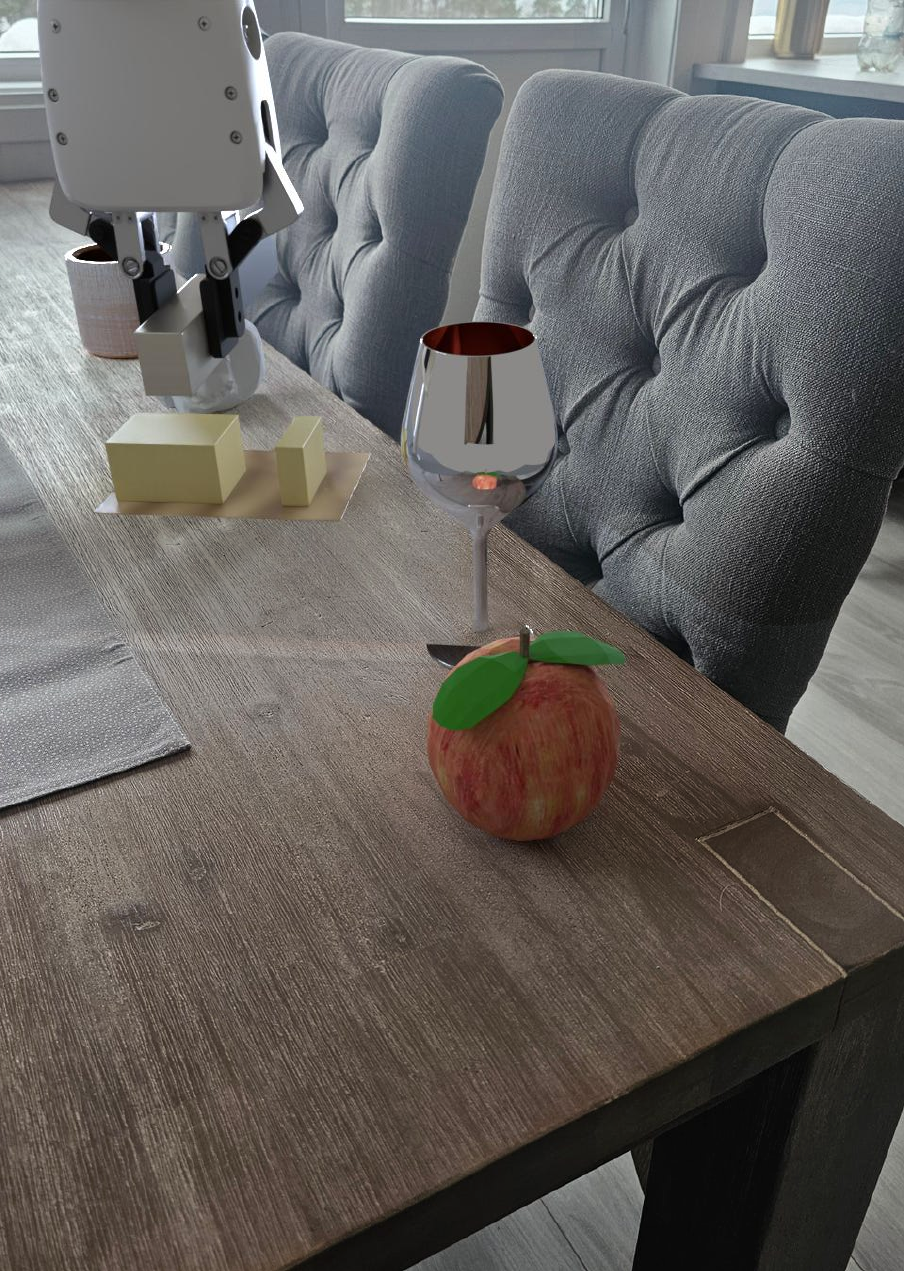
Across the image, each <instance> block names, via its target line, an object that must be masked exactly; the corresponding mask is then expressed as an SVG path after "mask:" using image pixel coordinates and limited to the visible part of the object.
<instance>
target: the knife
mask: <svg viewBox="0 0 904 1271" xmlns="http://www.w3.org/2000/svg"><path fill="white" fill-rule="evenodd" d="M277 254H278V253H277V246H276V237H275V233H274V234H272V235H270V236H269V237H266V238H264V239H262V240H261V241H260V242H259V243H258V244H257V246H256V247H255V248H254V249H253V251H252V252H251V253H250V254H249V255H248V257H247V258H246V259H245V260H244V262H243V263H242V264H241V265H240V266H239V268H238V271H239V279H240V286H241V294H242V302H243V310H244V313H245V312H246V311H247V309H248V308H249V307H250V306H251V305H252V303H253V302H254V301H255V300H256V299H257V297H258V296H259V295H260V294H261V293H262V292H263V290H264V289H265V288H266V287H267V286H268V285H269V283H270V282H271V281H272V280H273V279H274V277H275V276H276V275H277V274H278V273H279V264H278V255H277ZM205 277H206V273H196V274H194V276H193V277H191V278H190V279H189V280H188V281H187V282H186V283H185V284H184V285H183V286H182V287H181V288H179V291H178V292H177V293H176V294H175V295H174V296H173V297H172V298H171V299H169V300H168V301H167V302H166V303H165V304H164V305H163V306H162V307H161V308H160V309H159V310H157V311H156V312H155V313H154V314H153V315H152V316H151V317H150V318H149V319H148V320H147V321H146V322H145V323H143V324H142V325H141V326H140V327H139V328H138V329H137V330H136V331H135V332H134V338H135V343H136V348H137V353H138V357H137V358H138V364H139V367H140V368H139V369H140V372H141V373H140V374H141V378H142V383H143V388H144V393H145V396H147V397H156V396H189V397H191V396H193V395H194V394H195V392H196V391H197V390H198V389H199V387H200V386H201V385H202V384H203V382H204V381H205V380H206V379H207V377H208V376H209V375H210V374H211V372H212V371H213V370H214V369H215V367H216V366H217V365H218V364H219V363H220V361H221V360H222V359H223V358H213V356H211V354H210V350H209V343H208V336H207V330H206V323H205V316H204V311H203V310H202V303H201V296H200V289H199V283H200V281H201V280H203V279H204V278H205ZM244 332H245V331H244Z"/></svg>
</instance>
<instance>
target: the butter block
mask: <svg viewBox="0 0 904 1271" xmlns="http://www.w3.org/2000/svg"><path fill="white" fill-rule="evenodd" d="M104 447H105V452H106V456H107V461H108V467H109V472H110V475H111V480H112V485H113V490H115V495H116V499H117V501H142V502H175V503H208V504H223V503H224V502H225V500H226V499H227V497H228V496H229V494H230V493H231V491H232V490H233V489H234V487H235V486H236V484H237V483H238V481H239V480H240V478H241V477H242V475H243V474H244V473H245V471H246V466H245V458H244V451H243V450H244V445H243V437H242V431H241V424H240V416H239V414H232V413H231V414H230V413H229V414H228V413H211V414H186V413H179V412H136V411H135V412H134V413H133V414H132V415H131V416H130V417H129V418H128V419H127V420H126V421H125V422H124V423H123V424H122V425H121V426H120V427H119V428H118V429H117V430H116V431H115V432H114V433H113V434H112V435H111V436H109V438H108V439H107V440H106V441H105V442H104Z"/></svg>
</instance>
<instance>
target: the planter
mask: <svg viewBox="0 0 904 1271" xmlns="http://www.w3.org/2000/svg"><path fill="white" fill-rule="evenodd" d="M160 250H161V256H162V257H163V259H164V265H170V267H171V269H173V271H174V275H175V281H176V287H177V292H178V291H179V290H180V286H179V285H180V284H179V280H178V275H177V274H178V273H177V268H176V263H175V256H174V249H173V247H172V245H170V244H168V243H166V242H162V241H160ZM64 262H65V267H66V272H67V277H68V281H69V286H70V291H71V296H72V301H73V306H74V311H75V316H76V322H77V327H78V332H79V336H80V342H81V344H82V347H83V348H84V349H85V350H86V351H88V352H89V353H92V354H93V355H96V356H99V357H103V358H109V359H134V358H135V359H136V358H138V353H137V348H136V343H135V338H134V332H135V331H136V330H137V329H138V328H139V327H140V321H139V316H138V310H137V304H136V299H135V293H134V288H133V282H132V279H130V278H128V277H126V276H125V275H124V274H123V273H122V272H121V270H120V267H119V264H118V263H117V262H116V261H115V260H114V259H113V258H111V257H110V256H109V255H108V254H107V253H106V252H105V251H104V250H103V249H101V248H100V247H99V246H98V245H97V244H96V243H93V244H91V243H90V244H87V245H84V246H79V247H77V248H74V249H72V250H70V251H68V252H67V253H66V254H65V255H64Z"/></svg>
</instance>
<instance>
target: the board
mask: <svg viewBox="0 0 904 1271" xmlns="http://www.w3.org/2000/svg"><path fill="white" fill-rule="evenodd" d="M243 451H244V458H245V466H246V471H245V473H244V474H243V475H242V477H241V478H240V480H239V481H238V483H237V484H236V486H235V487H234V489H233V490H232V491H231V493H230V494H229V496H228V497H227V499H226V500H225V502H224V503H223V504H208V503H175V502H142V501H117V499H116V495H115V490H114V489H113V490H112V491H111V492H110V493H109V495H107V497H106V498H105V499H103V501H102V502H101V503H100V504H99V506H98V507H97V508H95V510H94V511H93V514H100V515H101V514H102V515H104V514H105V515H133V516H134V515H135V516H139V515H140V516H165V517H166V516H167V517H194V518H196V517H197V518H199V517H200V518H225V519H226V518H227V519H259V520H289V521H321V522H323V521H324V522H341V521H342V518H343V516H344V515H345V512H346V510H347V507H348V505H349V504H350V501H351V499H352V497H353V494H354V492H355V490H356V488H357V486H358V484H359V482H360V479H361V476H362V475H363V472H364V470H365V468H366V466H367V464H368V462H369V460H370V458H371V456H372V453H371V452H346V451H345V452H343V451H342V452H341V451H337V452H336V451H325V460H326V471H327V472H326V474H325V476H324V478H323V480H322V482H321V484H320V486H319V488H318V490H317V492H316V493H315V495H314V497H313V499H312V501H311V503H310V505H309V506H282V503H281V495H280V487H279V478H278V470H277V462H276V453H275V450H260V449H258V450H257V449H243Z"/></svg>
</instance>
